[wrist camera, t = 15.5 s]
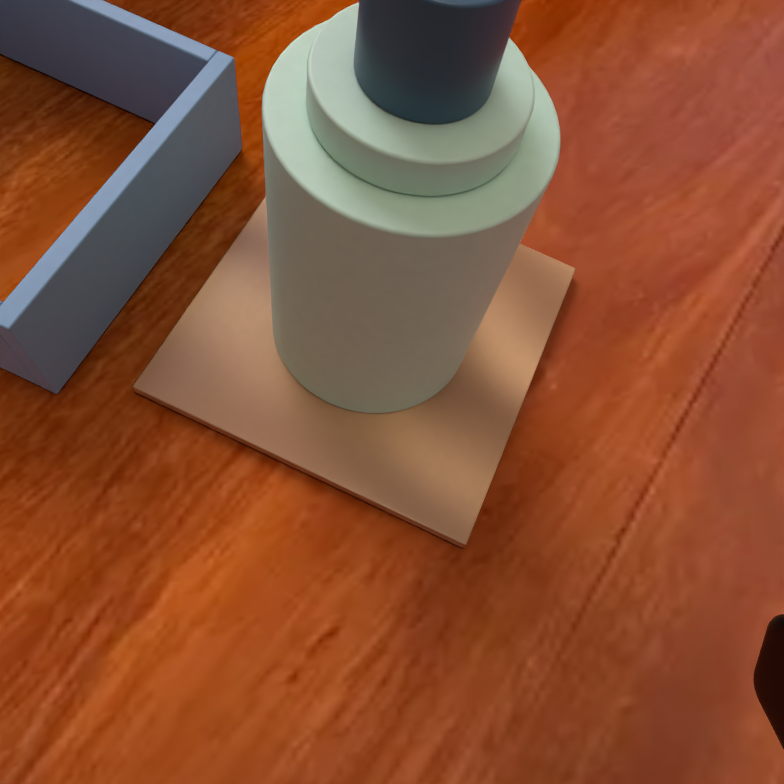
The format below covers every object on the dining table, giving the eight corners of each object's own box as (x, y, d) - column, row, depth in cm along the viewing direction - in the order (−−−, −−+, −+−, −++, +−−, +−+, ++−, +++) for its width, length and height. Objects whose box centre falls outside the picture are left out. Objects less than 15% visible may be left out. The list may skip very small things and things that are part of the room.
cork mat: (463, 548, 21) (465, 545, 20) (134, 392, 21) (131, 386, 21) (572, 274, 25) (576, 268, 25) (300, 153, 26) (300, 145, 26)
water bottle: (422, 447, 21) (571, 152, 10) (235, 360, 22) (174, -19, 10) (493, 291, 24) (673, -80, 13) (326, 216, 24) (356, -209, 13)
